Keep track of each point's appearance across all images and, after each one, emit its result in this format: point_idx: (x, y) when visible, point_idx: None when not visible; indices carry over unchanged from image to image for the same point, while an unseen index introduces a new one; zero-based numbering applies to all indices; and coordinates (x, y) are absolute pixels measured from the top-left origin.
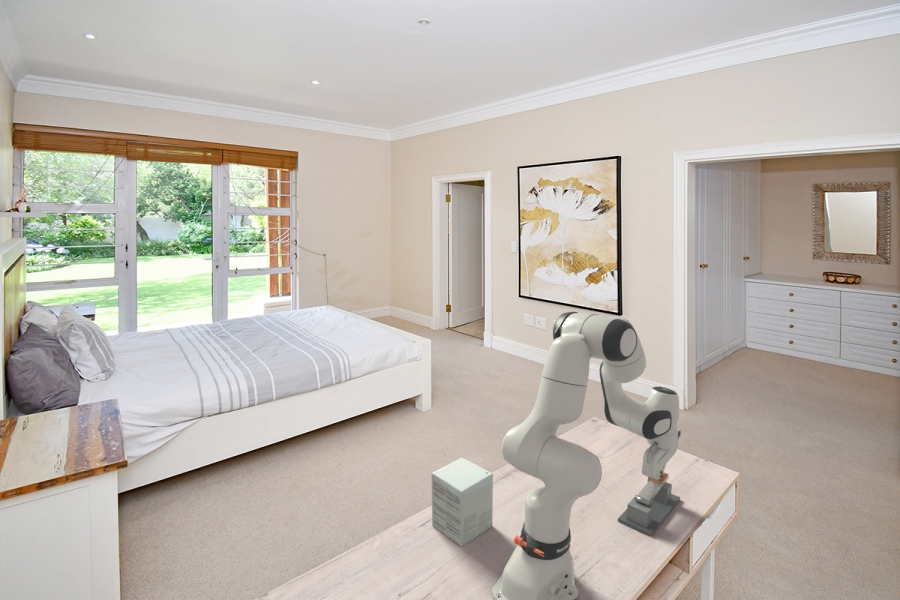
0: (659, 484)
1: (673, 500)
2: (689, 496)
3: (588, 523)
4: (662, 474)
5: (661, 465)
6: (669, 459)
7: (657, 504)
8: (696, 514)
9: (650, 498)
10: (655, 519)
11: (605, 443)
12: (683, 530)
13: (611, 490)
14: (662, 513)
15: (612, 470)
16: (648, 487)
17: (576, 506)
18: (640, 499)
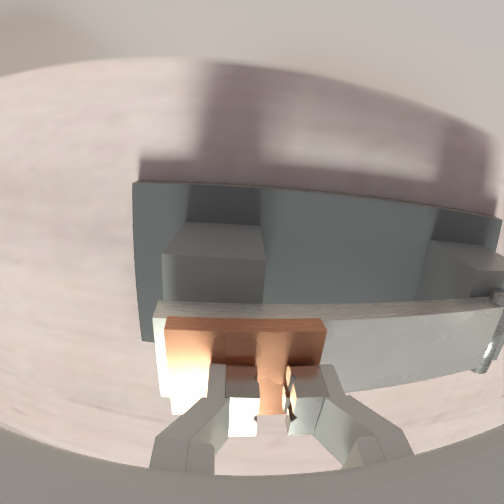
0: (336, 331)
1: (190, 203)
2: (76, 155)
3: (484, 380)
4: (245, 374)
5: (472, 490)
6: (107, 472)
7: (292, 262)
8: (216, 73)
9: (493, 308)
10: (421, 232)
11: None
12: (397, 104)
13: (282, 423)
14: (357, 217)
15: (148, 447)
16: (403, 366)
17: (424, 434)
18: (500, 340)
